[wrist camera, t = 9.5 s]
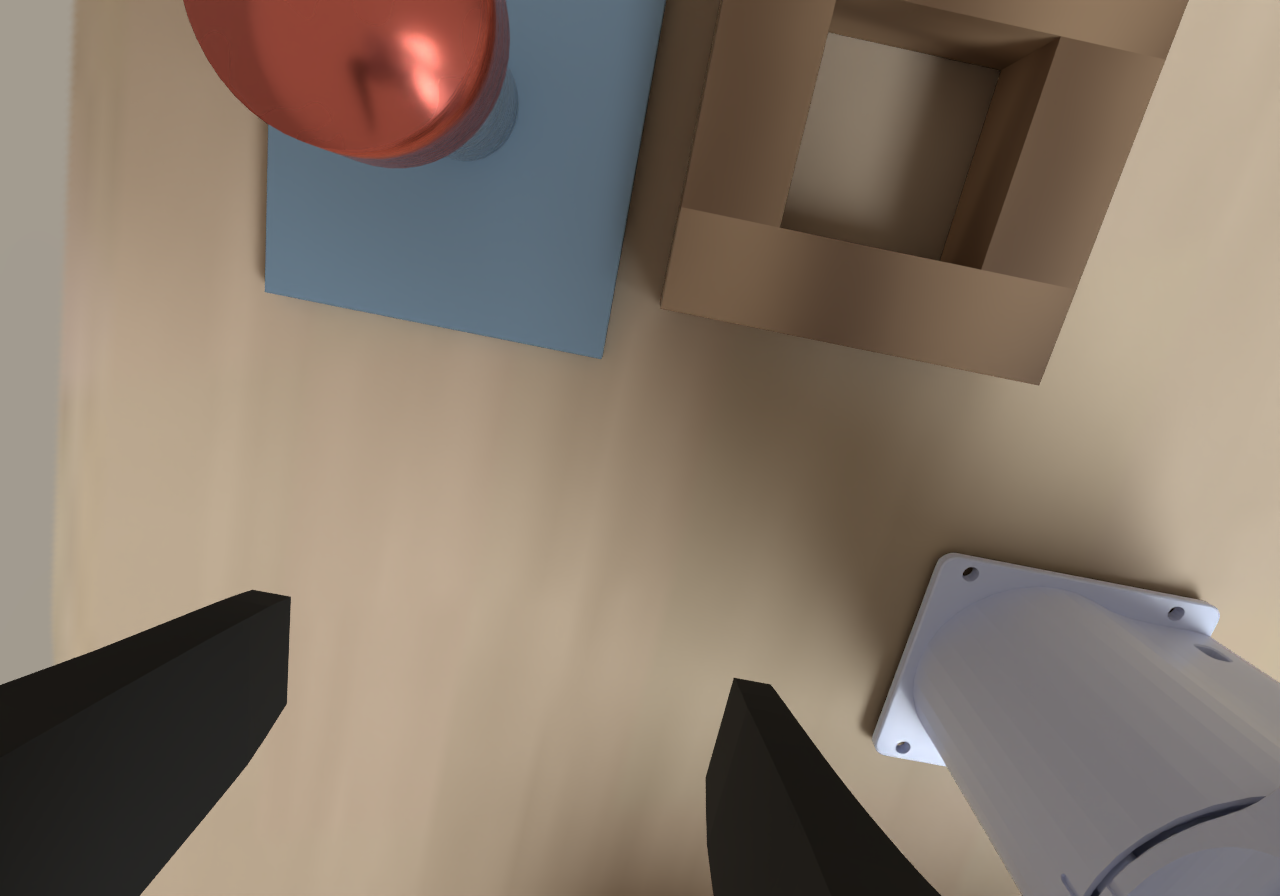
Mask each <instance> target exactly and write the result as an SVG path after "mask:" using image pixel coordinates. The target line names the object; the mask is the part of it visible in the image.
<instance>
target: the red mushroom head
mask: <svg viewBox="0 0 1280 896" xmlns="http://www.w3.org/2000/svg"><path fill="white" fill-rule="evenodd" d="M183 1H184V5H185V8H186V12H187V15H188V18H189V21H190V23H191V26H192V28H193V31H194V33H195V36H196V38H197V40H198V42H199V44H200V46H201V48H202V50H203V52H204V54H205V55H206V57H207V59H208V61H209V62H210V64H211V65H212V67H213V68H214V70H215V71H216V73H217V74H218V76H219V77H220V79H221V80H222V81H223V82H224V83H225V85H226V86H227V87H228V88H229V89H230V91H231V92H232V93H233V94H234V95H235V96H236V97H237V98H238V99H239V100H240V101H241V102H242V103H243V104H244V105H245V106H246V107H247V108H248V109H249V110H250V111H251V112H253V113H254V114H255V115H257V116H258V117H259V118H261V119H262V120H263V121H264V122H266V123H267V124H269V125H271V126H272V127H274V128H276V129H277V130H279V131H281V132H282V133H284V134H286V135H288V136H291V137H293V138H295V139H298V140H300V141H302V142H305V143H308V144H310V145H313V146H316V147H319V148H322V149H324V150H327V151H330V152H333V153H335V154H338V155H341V156H344V157H347V158H349V159H352V160H355V161H358V162H361V163H365V164H368V165H371V166H377V167H383V168H411V167H418V166H422V165H425V164H429V163H432V162H435V161H437V160H439V159H442V158H444V157H448V158H451V159H454V160H459V161H475V160H479V159H483V158H485V157H488V156H490V155H491V154H493V153H495V152H496V151H497V150H498V149H500V148H501V147H502V146H503V145H504V143H505V142H506V141H507V140H508V138H509V136H510V135H511V133H512V131H513V129H514V126H515V123H516V120H517V115H518V105H519V103H518V92H517V86H516V83H515V79H514V77H513V75H512V72H511V70H510V68H509V67H508V60H509V48H510V28H509V17H508V10H507V4H506V0H183Z"/></svg>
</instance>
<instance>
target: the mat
mask: <svg viewBox="0 0 1280 896" xmlns="http://www.w3.org/2000/svg"><path fill="white" fill-rule="evenodd" d="M506 4H507V10H508V17H509V28H510V48H509V60H508V67H509V68H510V70H511V72H512V75H513V77H514V79H515V83H516V86H517V92H518V103H519V105H518V115H517V120H516V123H515V126H514V129H513V131H512V133H511V135H510V136H509V138H508V140H507V141H506V142H505V143H504V145H503V146H502V147H501V148H500V149H498V150H497V151H496V152H495V153H493V154H491V155H490V156H488V157H485V158H483V159H479V160H475V161H459V160H454V159H451V158H448V157H444V158H442V159H439V160H437V161H435V162H432V163H429V164H425V165H422V166H418V167H411V168H383V167H377V166H371V165H368V164H365V163H361V162H358V161H355V160H352V159H349V158H347V157H344V156H341V155H338V154H335V153H333V152H330V151H327V150H324V149H322V148H319V147H316V146H313V145H310V144H308V143H305V142H302V141H300V140H298V139H295V138H293V137H291V136H288V135H286V134H284V133H282V132H281V131H279V130H277V129H276V128H274V127H272V126H271V125H269V124H268V165H267V214H266V262H265V292H267V293H273V294H278V295H283V296H288V297H293V298H298V299H303V300H308V301H313V302H318V303H323V304H328V305H333V306H338V307H343V308H348V309H353V310H358V311H363V312H368V313H373V314H378V315H383V316H388V317H393V318H398V319H403V320H408V321H413V322H418V323H423V324H428V325H433V326H438V327H443V328H448V329H453V330H458V331H463V332H468V333H473V334H478V335H483V336H488V337H493V338H498V339H503V340H508V341H513V342H518V343H523V344H528V345H533V346H538V347H543V348H548V349H553V350H558V351H563V352H568V353H573V354H578V355H583V356H588V357H593V358H598V359H602V357H603V351H604V346H605V340H606V335H607V329H608V324H609V318H610V312H611V307H612V301H613V296H614V290H615V284H616V279H617V273H618V268H619V262H620V257H621V251H622V245H623V240H624V234H625V229H626V223H627V217H628V212H629V206H630V201H631V195H632V189H633V184H634V178H635V173H636V167H637V162H638V156H639V150H640V145H641V139H642V134H643V128H644V122H645V117H646V111H647V106H648V100H649V95H650V89H651V83H652V78H653V72H654V67H655V61H656V55H657V50H658V44H659V39H660V33H661V28H662V22H663V16H664V11H665V5H666V0H506Z"/></svg>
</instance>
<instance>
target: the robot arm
mask: <svg viewBox="0 0 1280 896" xmlns="http://www.w3.org/2000/svg"><path fill="white" fill-rule="evenodd" d="M969 567H973V570H972V572H971V573H970V574H968V575H966V576H963V572H964V571H965V569H967V568H969ZM290 604H291V597H289V596H283V595H278V594H272V593H267V592H261V591H256V590H250V591H247V592H244V593H241V594H238V595H235V596H232V597H230V598H227V599H224V600H222V601H219V602H216V603H214V604H211V605H209V606H206V607H203V608H201V609H198V610H196V611H193V612H191V613H188V614H186V615H183V616H181V617H178V618H176V619H173V620H171V621H168V622H166V623H163V624H161V625H158V626H156V627H153V628H151V629H148V630H146V631H143V632H141V633H138V634H136V635H133V636H131V637H128V638H126V639H123V640H121V641H118V642H115V643H113V644H110V645H108V646H105V647H103V648H100V649H98V650H95V651H93V652H90V653H87V654H84V655H82V656H79V657H76V658H73V659H71V660H68V661H65V662H62V663H60V664H57V665H54V666H52V667H49V668H46V669H44V670H41V671H38V672H35V673H32V674H30V675H27V676H24V677H21V678H19V679H16V680H13V681H10V682H8V683H5V684H2V685H0V896H140V895H141V893H142V892H143V891H144V890H145V889H146V887H147V886H148V885H149V884H150V883H151V881H152V880H153V879H154V878H155V877H156V875H157V874H158V873H159V872H160V871H161V869H162V868H163V867H164V866H165V865H166V863H167V862H168V861H169V860H170V858H171V857H172V856H173V855H174V854H175V852H176V851H177V850H178V849H179V848H180V846H181V845H182V844H183V843H184V842H185V840H186V839H187V838H188V837H189V836H190V834H191V833H192V832H193V831H194V830H195V828H196V827H197V826H198V825H199V824H200V822H201V821H202V820H203V819H204V818H205V816H206V815H207V814H208V813H209V811H210V810H211V809H212V808H213V807H214V805H215V804H216V803H217V802H218V800H219V799H220V798H221V797H222V796H223V794H224V793H225V792H226V791H227V789H228V788H229V787H230V786H231V785H232V783H233V782H234V781H235V780H236V778H237V777H238V776H239V775H240V773H241V772H242V771H243V770H244V768H245V767H246V766H247V765H248V763H249V762H250V760H251V759H252V757H253V756H254V754H255V753H256V751H257V750H258V748H259V747H260V745H261V744H262V742H263V741H264V739H265V738H266V736H267V734H268V733H269V731H270V730H271V728H272V726H273V725H274V723H275V722H276V720H277V718H278V717H279V715H280V714H281V712H282V710H283V709H284V707H285V706H286V704H287V684H288V657H289V630H290ZM1172 608H1174V609H1173V611H1172V612H1170V613H1168V612H1169V611H1170V610H1171V609H1172ZM1219 617H1220V614H1219V610H1218V609H1217V608H1216V607H1215V606H1213V605H1211V604H1210V603H1208V602H1205V601H1203V600H1198V599H1193V598H1188V597H1183V596H1177V595H1172V594H1167V593H1162V592H1157V591H1151V590H1146V589H1141V588H1136V587H1131V586H1125V585H1120V584H1115V583H1110V582H1105V581H1099V580H1094V579H1089V578H1084V577H1079V576H1073V575H1068V574H1063V573H1058V572H1053V571H1047V570H1042V569H1037V568H1032V567H1027V566H1021V565H1016V564H1011V563H1006V562H1001V561H995V560H990V559H985V558H980V557H975V556H969V555H964V554H959V553H948V554H945V555H943V556H942V557H941V558H940V559H939V560H938V562H937V563H936V566H935V569H934V571H933V574H932V577H931V579H930V582H929V585H928V587H927V590H926V593H925V596H924V598H923V601H922V604H921V606H920V609H919V612H918V614H917V617H916V620H915V623H914V625H913V628H912V631H911V633H910V636H909V639H908V641H907V644H906V647H905V650H904V652H903V655H902V658H901V660H900V663H899V666H898V668H897V671H896V674H895V676H894V679H893V682H892V685H891V687H890V690H889V693H888V695H887V698H886V701H885V703H884V706H883V709H882V712H881V714H880V717H879V720H878V722H877V725H876V728H875V730H874V733H873V736H872V741H873V744H874V746H875V748H876V750H877V751H878V752H879V753H880V754H882V755H885V756H891V757H896V758H902V759H907V760H913V761H919V762H924V763H930V764H935V765H941V766H946V767H947V768H948V770H949V772H950V773H951V775H952V777H953V778H954V780H955V782H956V783H957V785H958V787H959V789H960V790H961V792H962V794H963V795H964V797H965V799H966V800H967V802H968V804H969V806H970V807H971V809H972V811H973V812H974V814H975V816H976V817H977V819H978V821H979V823H980V824H981V826H982V828H983V829H984V831H985V833H986V834H987V836H988V838H989V840H990V841H991V843H992V845H993V846H994V848H995V850H996V851H997V853H998V855H999V857H1000V858H1001V860H1002V862H1003V863H1004V865H1005V867H1006V869H1007V870H1008V872H1009V874H1010V875H1011V877H1012V879H1013V880H1014V882H1015V884H1016V886H1017V887H1018V889H1019V891H1020V892H1021V894H1022V896H1280V683H1279V682H1278V681H1276V680H1275V679H1273V678H1272V677H1270V676H1269V675H1267V674H1265V673H1264V672H1262V671H1261V670H1259V669H1258V668H1256V667H1255V666H1253V665H1252V664H1250V663H1249V662H1247V661H1246V660H1244V659H1243V658H1241V657H1240V656H1238V655H1237V654H1235V653H1234V652H1232V651H1231V650H1229V649H1228V648H1226V647H1225V646H1223V645H1222V644H1220V643H1219V642H1217V641H1216V640H1214V639H1213V638H1211V637H1210V636H1211V634H1212V632H1213V630H1214V629H1215V627H1216V625H1217V623H1218V621H1219ZM900 742H905V743H904V744H902V745H897V744H898V743H900ZM706 825H707V848H708V856H709V864H710V872H711V880H712V887H713V895H714V896H941V895H940V894H939V893H938V892H937V891H936V890H935V889H934V888H933V887H932V886H931V885H930V884H929V883H928V882H927V881H926V880H925V878H924V877H923V876H922V875H921V874H920V873H919V872H918V871H917V870H916V869H915V867H914V866H913V865H912V864H911V863H910V862H909V861H908V860H907V859H906V857H905V856H904V855H903V854H902V853H901V852H900V851H899V849H898V848H897V847H896V846H895V845H894V844H893V842H892V841H891V840H890V839H889V838H888V837H887V835H886V834H885V833H884V832H883V831H882V829H881V828H880V827H879V826H878V825H877V824H876V822H875V821H874V820H873V819H872V818H871V817H870V815H869V814H868V813H867V812H866V810H865V809H864V808H863V807H862V806H861V804H860V803H859V802H858V801H857V799H856V798H855V797H854V796H853V794H852V793H851V792H850V791H849V789H848V788H847V787H846V785H845V784H844V783H843V782H842V780H841V779H840V778H839V776H838V775H837V774H836V773H835V771H834V770H833V769H832V767H831V766H830V765H829V763H828V762H827V761H826V759H825V758H824V757H823V755H822V754H821V753H820V751H819V750H818V749H817V747H816V746H815V745H814V743H813V742H812V740H811V739H810V738H809V736H808V735H807V734H806V732H805V731H804V729H803V728H802V727H801V725H800V724H799V723H798V721H797V720H796V718H795V717H794V716H793V714H792V713H791V711H790V710H789V709H788V707H787V706H786V705H785V703H784V702H783V700H782V699H781V698H780V696H779V695H778V694H777V692H776V691H775V690H774V688H773V687H772V686H771V685H770V684H765V683H759V682H754V681H748V680H743V679H737V678H734V680H733V683H732V687H731V690H730V694H729V697H728V701H727V704H726V708H725V711H724V715H723V718H722V722H721V726H720V729H719V733H718V736H717V740H716V743H715V747H714V750H713V754H712V757H711V761H710V764H709V768H708V771H707V775H706Z"/></svg>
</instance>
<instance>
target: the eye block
mask: <svg viewBox="0 0 1280 896" xmlns="http://www.w3.org/2000/svg"><path fill="white" fill-rule="evenodd" d="M1188 1H1189V0H721V2H720V7H719V12H718V17H717V22H716V27H715V32H714V37H713V42H712V47H711V52H710V57H709V62H708V67H707V72H706V77H705V82H704V87H703V92H702V97H701V102H700V107H699V112H698V117H697V122H696V127H695V131H694V136H693V141H692V146H691V151H690V156H689V161H688V166H687V171H686V176H685V181H684V186H683V191H682V196H681V201H680V206H679V211H678V216H677V221H676V226H675V231H674V236H673V241H672V246H671V251H670V256H669V261H668V266H667V271H666V276H665V281H664V286H663V291H662V296H661V301H660V306H661V309H665V310H670V311H675V312H680V313H685V314H690V315H695V316H700V317H705V318H710V319H714V320H719V321H724V322H729V323H734V324H739V325H744V326H749V327H754V328H759V329H764V330H769V331H774V332H778V333H783V334H788V335H793V336H798V337H803V338H808V339H813V340H818V341H823V342H828V343H833V344H838V345H842V346H847V347H852V348H857V349H862V350H867V351H872V352H877V353H882V354H887V355H892V356H897V357H902V358H906V359H911V360H916V361H921V362H926V363H931V364H936V365H941V366H946V367H951V368H956V369H961V370H966V371H970V372H975V373H980V374H985V375H990V376H995V377H1000V378H1005V379H1010V380H1015V381H1020V382H1025V383H1030V384H1034V385H1039V384H1040V382H1041V379H1042V377H1043V374H1044V372H1045V369H1046V366H1047V364H1048V361H1049V359H1050V356H1051V354H1052V351H1053V348H1054V346H1055V343H1056V341H1057V338H1058V335H1059V333H1060V330H1061V328H1062V325H1063V323H1064V320H1065V317H1066V315H1067V312H1068V310H1069V307H1070V305H1071V302H1072V299H1073V297H1074V294H1075V292H1076V289H1077V287H1078V284H1079V281H1080V279H1081V276H1082V274H1083V271H1084V268H1085V266H1086V263H1087V261H1088V258H1089V256H1090V253H1091V250H1092V248H1093V245H1094V243H1095V240H1096V238H1097V235H1098V232H1099V230H1100V227H1101V225H1102V222H1103V220H1104V217H1105V214H1106V212H1107V209H1108V207H1109V204H1110V202H1111V199H1112V196H1113V194H1114V191H1115V189H1116V186H1117V183H1118V181H1119V178H1120V176H1121V173H1122V171H1123V168H1124V165H1125V163H1126V160H1127V158H1128V155H1129V153H1130V150H1131V147H1132V145H1133V142H1134V140H1135V137H1136V135H1137V132H1138V129H1139V127H1140V124H1141V122H1142V119H1143V116H1144V114H1145V111H1146V109H1147V106H1148V104H1149V101H1150V98H1151V96H1152V93H1153V91H1154V88H1155V86H1156V83H1157V80H1158V78H1159V75H1160V73H1161V70H1162V68H1163V65H1164V62H1165V60H1166V57H1167V55H1168V52H1169V49H1170V47H1171V44H1172V42H1173V39H1174V37H1175V34H1176V31H1177V29H1178V26H1179V24H1180V21H1181V19H1182V16H1183V13H1184V11H1185V8H1186V6H1187V3H1188ZM828 32H830V33H835V34H839V35H844V36H848V37H853V38H857V39H862V40H866V41H871V42H875V43H880V44H884V45H889V46H893V47H898V48H903V49H907V50H912V51H916V52H921V53H925V54H930V55H934V56H939V57H943V58H948V59H952V60H957V61H961V62H966V63H970V64H975V65H979V66H984V67H989V68H993V69H998V70H1001V72H1000V76H999V79H998V82H997V85H996V88H995V91H994V94H993V97H992V100H991V103H990V107H989V110H988V113H987V116H986V119H985V122H984V125H983V128H982V131H981V135H980V138H979V141H978V144H977V147H976V150H975V153H974V156H973V159H972V162H971V166H970V169H969V172H968V175H967V178H966V181H965V184H964V187H963V190H962V193H961V197H960V200H959V203H958V206H957V209H956V212H955V215H954V218H953V221H952V225H951V228H950V231H949V234H948V237H947V240H946V243H945V246H944V249H943V252H942V256H941V259H940V261H937V260H932V259H927V258H923V257H918V256H913V255H908V254H904V253H899V252H894V251H889V250H884V249H880V248H875V247H870V246H865V245H861V244H856V243H851V242H846V241H841V240H837V239H832V238H827V237H822V236H818V235H813V234H808V233H803V232H798V231H794V230H789V229H784V228H780V225H781V221H782V217H783V213H784V209H785V205H786V201H787V197H788V193H789V189H790V185H791V181H792V177H793V172H794V168H795V164H796V160H797V156H798V152H799V148H800V144H801V140H802V136H803V132H804V128H805V124H806V120H807V116H808V112H809V108H810V104H811V100H812V96H813V91H814V87H815V83H816V79H817V75H818V71H819V67H820V63H821V59H822V55H823V51H824V47H825V43H826V39H827V35H828Z"/></svg>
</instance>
